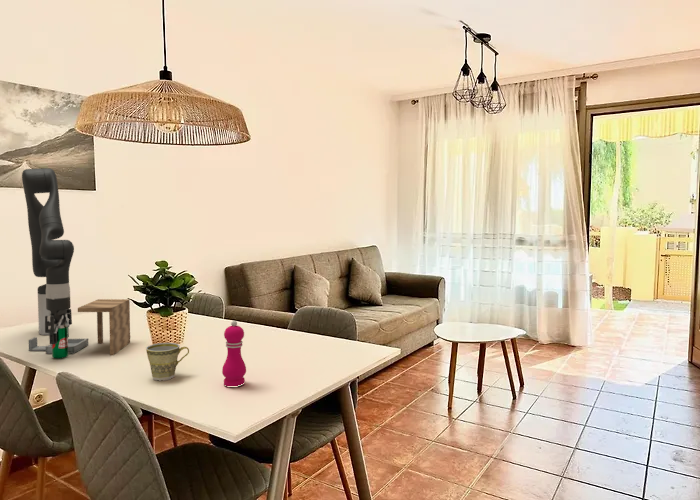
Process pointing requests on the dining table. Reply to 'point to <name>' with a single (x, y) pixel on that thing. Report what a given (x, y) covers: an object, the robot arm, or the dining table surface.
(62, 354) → the soda can
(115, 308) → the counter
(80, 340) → the tray
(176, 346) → the ceramic cup
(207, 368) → the dining table surface
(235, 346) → the pepper mill
